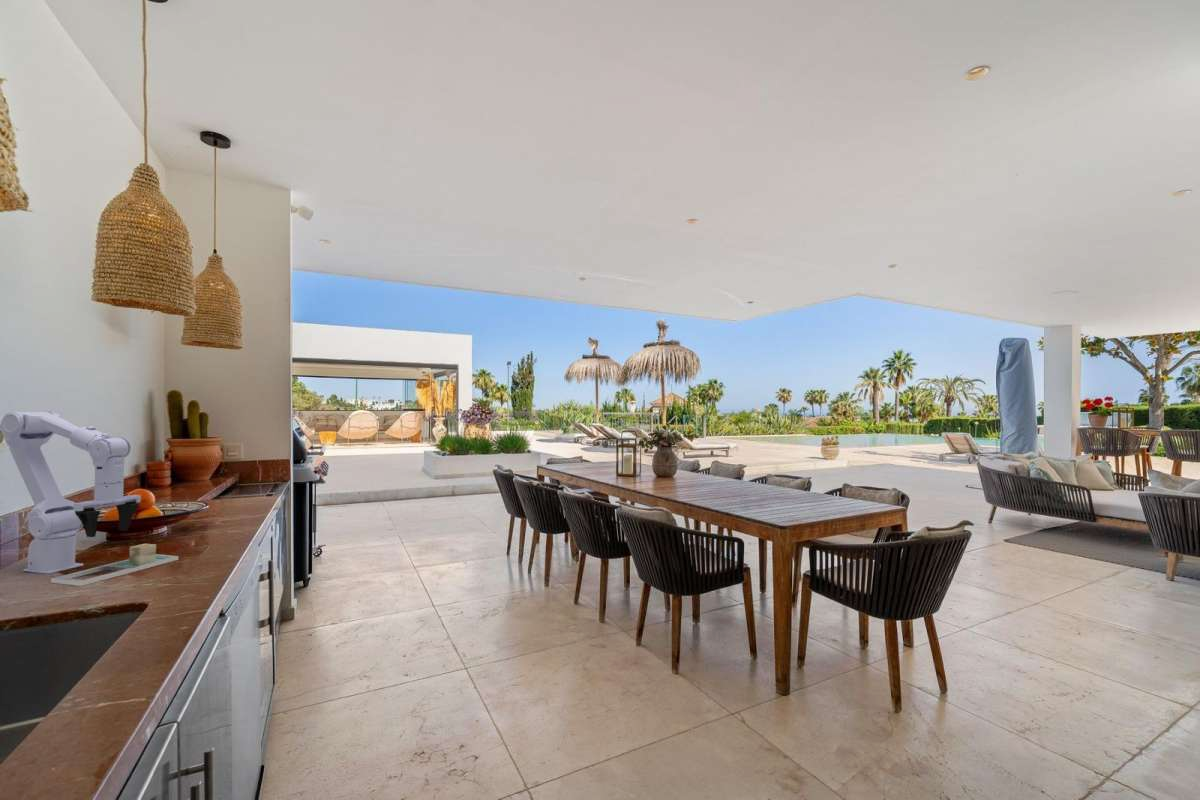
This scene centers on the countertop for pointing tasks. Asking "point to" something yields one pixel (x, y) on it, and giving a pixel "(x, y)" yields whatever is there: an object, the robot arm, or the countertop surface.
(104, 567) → the rail frame
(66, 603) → the countertop surface
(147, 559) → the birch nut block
